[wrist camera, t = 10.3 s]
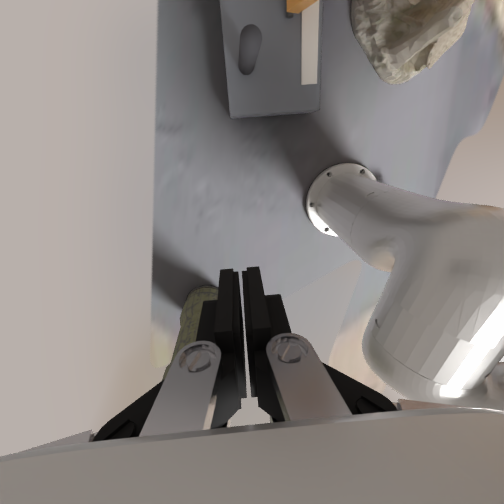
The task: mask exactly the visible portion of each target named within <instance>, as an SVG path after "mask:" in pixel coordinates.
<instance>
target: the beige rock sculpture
mask: <svg viewBox="0 0 504 504" xmlns="http://www.w3.org/2000/svg"><path fill="white" fill-rule="evenodd" d="M474 2H475V0H352V5H351V21H352V28H353V33H354V35H355V38H356V39H357V41H358V42H359V44H360V46H361V47H362V48H363V50H364V52H365V53H366V55H367V57H368V59H369V61H370V63H371V64H372V65H373V67H374V69H375V71H376V72H377V73H378V75H379V77H380V78H381V79H382V80H383V81H384V82H387V83H389V84H391V85H393V84H401V83H404V82H407V81H409V80H410V79H411V78H412V77H414V76H415V75H417V74H418V73H420V72H421V71H422V70H423V69H424V68H425V67H428V69H430V68H431V67H432V66H433V64H434V63H435V62H436V61H437V60H438V59H439V58H440V57H441V56H442V54H443V53H444V52H445V51H446V50H448V49H449V48H450V47H451V46H452V45H453V44H454V43H455V42H456V41H457V40H458V39H459V38H460V37H461V36H462V34H463V32H464V30H465V28H466V23H467V19H468V16H469V14H470V11H471V5H472V4H473V3H474Z"/></svg>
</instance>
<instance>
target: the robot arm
mask: <svg viewBox="0 0 504 504" xmlns="http://www.w3.org/2000/svg"><path fill="white" fill-rule="evenodd" d="M360 170H361V172H360ZM327 173H329V175H327ZM311 202H312V204H311V205H310V203H311ZM306 209H307V214H308V217H309V219H310V221H311V222H312V224H313V225H314V226H315V227H316V228H317V229H318V230H319V231H321V232H323V233H324V234H327V235H331V236H338V237H339V238H340V239H341V240H342V241H343V242H344V243H346V244H347V245H348V246H349V247H350V248H351V249H352V250H353V251H354V252H355V253H356V254H357V255H358V256H359V257H360V258H361V259H362V260H363V261H364V262H366V263H367V264H368V265H370V266H371V267H374V268H376V269H378V270H382V271H387V272H391V274H390V276H389V278H388V280H387V282H386V285H385V288H384V290H383V292H382V294H381V297H380V299H379V301H378V303H377V305H376V307H375V309H374V311H373V313H372V316H371V318H370V320H369V322H368V325H367V327H366V329H365V332H364V335H363V339H362V351H363V355H364V358H365V360H366V362H367V364H368V365H369V367H370V368H371V370H372V371H373V372H374V373H375V374H376V375H377V376H378V377H379V378H380V379H381V380H382V381H383V382H384V383H385V384H387V385H388V386H389V387H391V388H392V389H393V390H395V391H396V392H397V393H399V394H401V395H402V396H403V397H405V398H407V399H408V400H405V399H398V402H397V403H395V402H391V401H390V400H389V399H388V398H386V397H385V396H383V395H382V394H380V393H378V392H377V391H375V390H373V389H371V388H369V387H367V386H365V385H364V384H362V383H360V382H358V381H356V380H354V379H352V378H350V377H349V376H347V375H345V374H343V373H341V372H339V371H337V370H335V369H334V368H332V367H330V366H328V365H326V364H324V363H322V362H321V360H320V359H319V357H318V355H317V354H316V352H315V350H314V348H313V347H312V345H311V344H310V342H308V340H307V339H305V338H304V337H302V336H300V335H297V334H293V333H291V329H290V326H289V323H288V319H287V316H286V312H285V309H284V305H283V302H282V298H281V295H280V294H276V295H264V290H263V284H262V279H261V274H260V269H259V267H247V271H242V279H243V296H244V313H245V329H246V341H247V352H248V364H249V375H250V386H251V396H252V397H258V407H260V408H261V409H263V410H264V411H265V412H267V413H268V414H269V415H270V423H265V424H255V425H245V426H236V427H231V417H232V416H233V415H234V414H235V413H236V412H237V410H238V409H241V398H247V393H246V372H245V351H244V331H243V317H242V307H241V296H240V286H239V275H238V272H233V269H223V270H220V278H219V287H218V297H217V300H207V301H203V304H202V310H201V315H200V320H199V326H198V331H197V336H196V341H195V342H193V343H190V344H188V345H186V346H185V347H183V348H182V349H181V350H180V351H179V352H178V353H177V355H176V356H175V358H174V360H173V363H172V365H171V367H170V369H169V371H168V374H167V376H166V378H165V379H164V380H163V381H161V382H160V383H159V384H157V385H156V386H155V387H153V388H152V389H151V390H149V391H148V392H147V393H145V394H144V395H143V396H141V397H140V398H139V399H137V400H136V401H135V402H134V403H132V404H131V405H129V406H128V407H127V408H125V409H124V410H123V411H122V412H120V413H119V414H117V415H116V416H115V417H114V418H112V419H111V420H110V421H108V422H107V423H106V424H105V425H104V426H103V427H102V428H101V429H100V430H99V432H97V433H94V434H93V432H92V430H89V431H86V432H82V433H79V434H76V435H73V436H70V437H66V438H63V439H60V440H57V441H54V442H51V443H47V444H44V445H41V446H38V447H35V448H31V449H28V450H25V451H22V452H18V453H14V454H9V455H5V456H1V457H0V504H504V362H499V361H500V360H501V358H502V357H503V356H504V208H500V207H494V206H487V205H478V204H467V203H459V202H450V201H444V200H438V199H434V198H430V197H427V196H423V195H419V194H416V193H413V192H410V191H406V190H403V189H399V188H396V187H393V186H390V185H387V184H384V183H381V182H377V180H376V178H375V176H374V175H373V174H372V172H370V171H369V170H368V169H367V168H365V167H363V166H361V165H358V164H353V163H341V164H337V165H334V166H332V167H329V168H327V169H326V170H325V171H323V172H322V173H321V174H320V175H319V176H318V177H317V178H316V179H315V180H314V182H313V183H312V185H311V187H310V189H309V191H308V194H307V198H306ZM325 228H326V229H325Z"/></svg>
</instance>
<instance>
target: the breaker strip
mask: <svg viewBox="0 0 504 504" xmlns="http://www.w3.org/2000/svg"><path fill="white" fill-rule="evenodd" d="M220 11H221V22H222V33H223V44H224V55H225V66H226V76H227V87H228V98H229V109H230V118H231V119H234V118H248V117H262V116H275V115H289V114H303V113H311V112H314V111H317V110H320V79H321V48H322V17H323V0H318V1H316V2H315V3H313V4H312V5H310V6H309V7H307V8H306V9H304V10H303V11H301V12H300V13H298V14H297V13H293V17H292V18H287V17H286V0H220ZM248 24H253V25H256V26H257V27H258V28H259V29H260V31H261V33H262V43H261V47H260V50H259V53H258V57H257V60H256V64H255V67H254V70H253V72H252V73H251V74H249V75H244V74H242V73H241V72H240V70H239V67H238V62H239V45H240V34H241V31H242V29H243V28H244V27H245V26H246V25H248Z"/></svg>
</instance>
